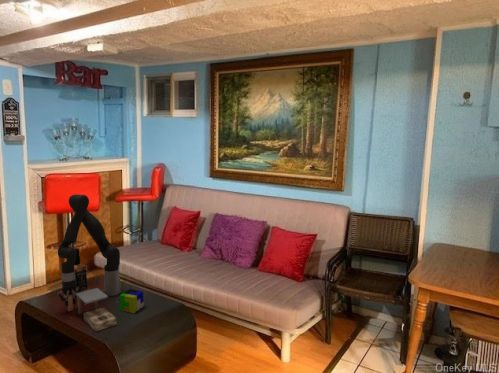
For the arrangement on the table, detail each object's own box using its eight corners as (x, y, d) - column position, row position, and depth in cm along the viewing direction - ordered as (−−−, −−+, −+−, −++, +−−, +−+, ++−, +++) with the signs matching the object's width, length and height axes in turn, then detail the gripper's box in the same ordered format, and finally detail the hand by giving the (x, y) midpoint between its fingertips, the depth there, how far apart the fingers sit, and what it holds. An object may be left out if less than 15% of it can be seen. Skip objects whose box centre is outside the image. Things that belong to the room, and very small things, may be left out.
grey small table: (98, 307, 246) (97, 287, 244) (108, 316, 234) (107, 296, 232) (76, 313, 237) (75, 293, 235) (86, 323, 225) (85, 302, 223)
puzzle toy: (143, 306, 248) (143, 291, 247) (134, 313, 239) (133, 297, 237) (130, 303, 252) (129, 289, 250) (120, 310, 242) (119, 295, 241)
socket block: (103, 313, 238) (103, 307, 237) (116, 324, 225) (116, 318, 224) (83, 319, 230) (83, 313, 229) (95, 331, 217) (95, 325, 216)
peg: (72, 308, 243) (71, 293, 242) (74, 310, 241) (73, 294, 239) (66, 309, 241) (65, 294, 239) (68, 311, 239) (67, 296, 237)
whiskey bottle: (67, 295, 262) (64, 249, 257) (80, 290, 270) (77, 245, 265) (76, 299, 257) (74, 252, 252) (89, 293, 265) (87, 248, 260)
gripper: (78, 274, 245) (79, 300, 248) (54, 279, 236) (55, 306, 238) (82, 277, 240) (84, 304, 242) (58, 283, 230) (60, 311, 233)
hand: (70, 305), depth 240 cm, fingers closed on peg, 3 cm apart
